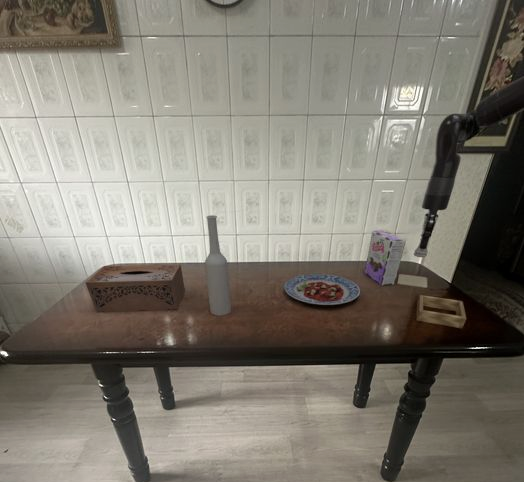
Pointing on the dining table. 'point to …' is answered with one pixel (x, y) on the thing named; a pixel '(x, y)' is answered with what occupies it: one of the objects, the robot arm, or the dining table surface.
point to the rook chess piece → (421, 250)
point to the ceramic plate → (322, 289)
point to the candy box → (384, 257)
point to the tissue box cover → (137, 287)
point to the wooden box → (441, 318)
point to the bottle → (217, 273)
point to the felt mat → (412, 280)
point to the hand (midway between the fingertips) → (422, 246)
